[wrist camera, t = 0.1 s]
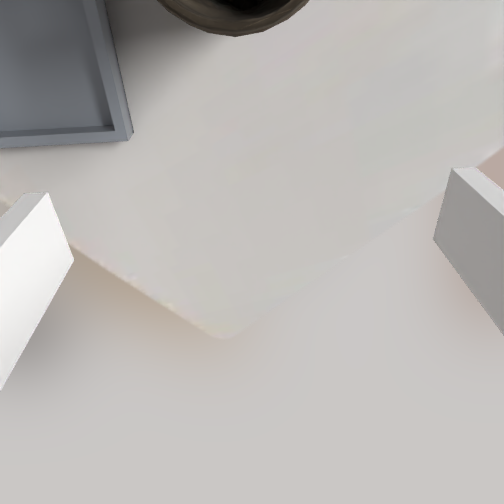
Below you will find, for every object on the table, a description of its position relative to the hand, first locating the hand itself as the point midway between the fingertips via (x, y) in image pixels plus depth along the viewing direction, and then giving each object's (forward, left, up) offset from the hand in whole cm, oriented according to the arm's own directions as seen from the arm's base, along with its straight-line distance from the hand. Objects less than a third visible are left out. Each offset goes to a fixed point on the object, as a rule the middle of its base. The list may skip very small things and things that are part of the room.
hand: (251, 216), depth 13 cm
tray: (-1, -18, -28) cm, 33 cm away
